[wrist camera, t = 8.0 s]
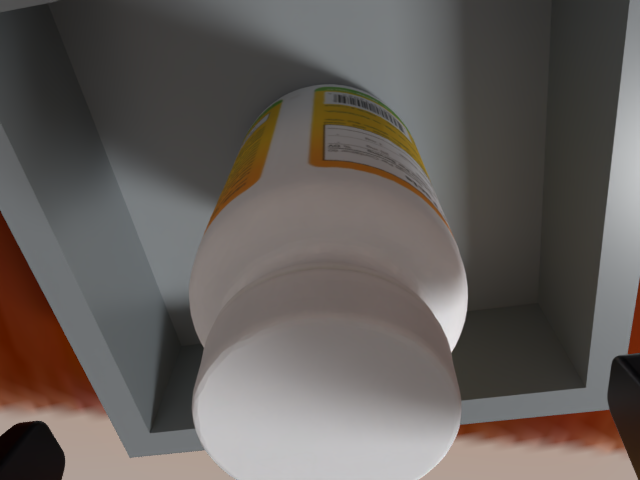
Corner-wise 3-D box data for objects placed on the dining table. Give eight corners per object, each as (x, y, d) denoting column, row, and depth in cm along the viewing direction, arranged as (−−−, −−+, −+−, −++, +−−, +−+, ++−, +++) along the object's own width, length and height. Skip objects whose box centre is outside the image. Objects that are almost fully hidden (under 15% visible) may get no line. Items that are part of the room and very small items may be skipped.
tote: (585, -152, 13) (715, -196, 9) (555, 304, 20) (618, 408, 15) (13, -38, 14) (-123, -26, 10) (170, 350, 21) (129, 457, 17)
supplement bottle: (274, 262, 18) (223, 555, 9) (212, 111, 15) (67, 327, 7) (432, 222, 17) (533, 506, 9) (395, 55, 14) (485, 224, 6)
